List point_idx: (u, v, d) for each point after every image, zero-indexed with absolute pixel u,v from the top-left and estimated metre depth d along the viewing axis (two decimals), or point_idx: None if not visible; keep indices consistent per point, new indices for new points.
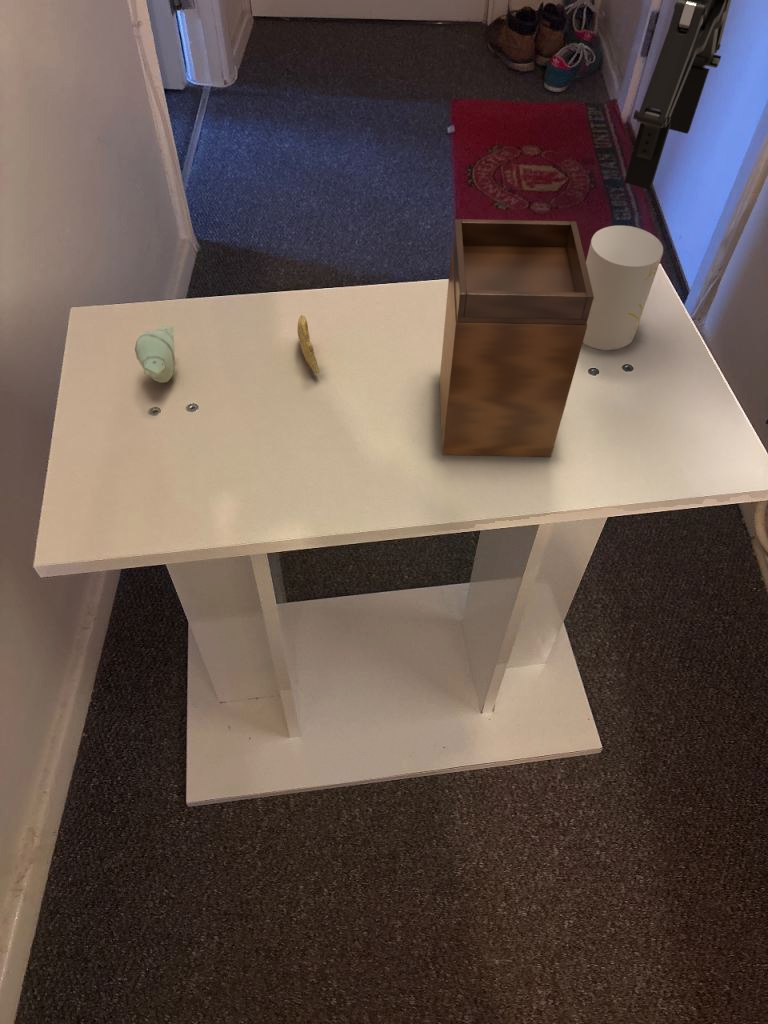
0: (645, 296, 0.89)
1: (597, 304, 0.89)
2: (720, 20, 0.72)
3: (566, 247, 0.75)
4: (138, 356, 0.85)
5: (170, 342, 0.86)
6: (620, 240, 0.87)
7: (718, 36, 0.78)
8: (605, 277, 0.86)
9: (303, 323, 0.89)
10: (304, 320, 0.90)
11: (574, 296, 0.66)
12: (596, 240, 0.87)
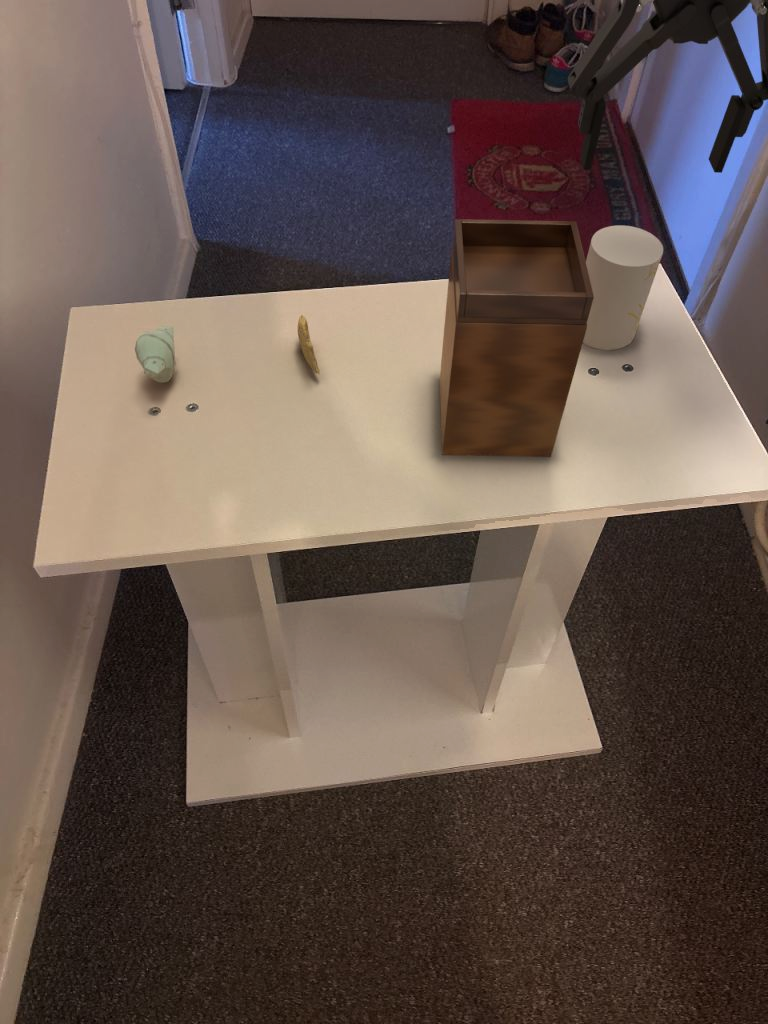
0: (645, 296, 0.89)
1: (597, 304, 0.89)
2: (720, 39, 0.68)
3: (566, 247, 0.75)
4: (138, 356, 0.85)
5: (170, 342, 0.86)
6: (620, 240, 0.87)
7: (767, 77, 0.71)
8: (605, 277, 0.86)
9: (303, 323, 0.89)
10: (304, 320, 0.90)
11: (574, 296, 0.66)
12: (596, 240, 0.87)
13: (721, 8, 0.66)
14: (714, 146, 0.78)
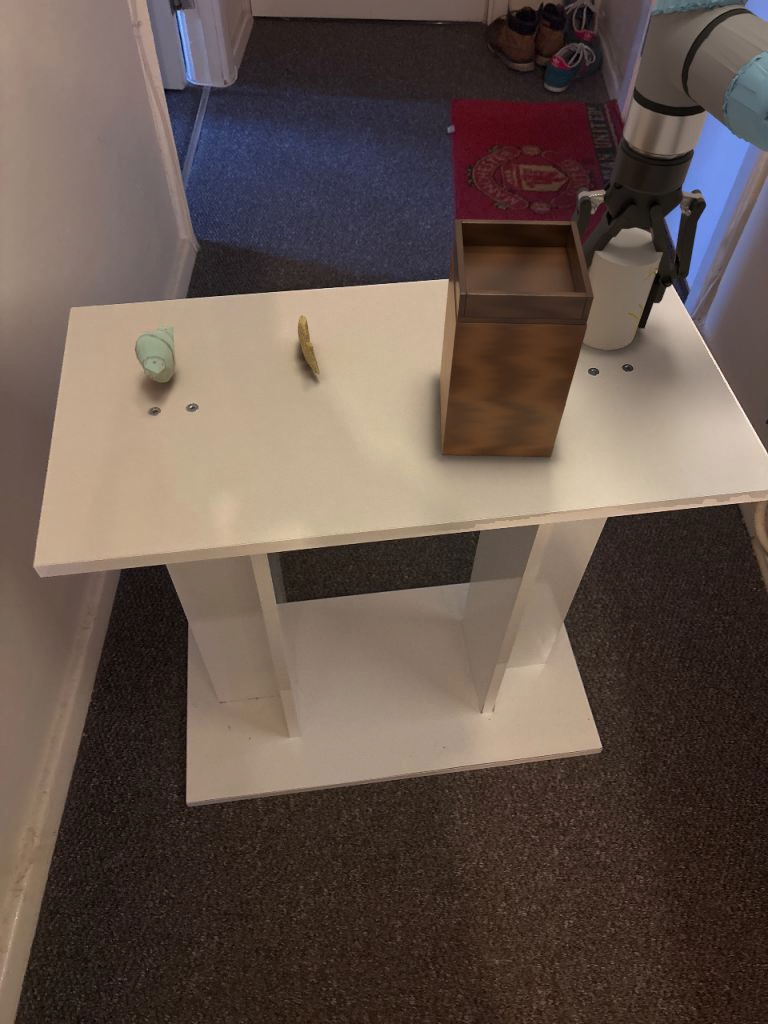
0: (645, 296, 0.89)
1: (597, 304, 0.89)
2: (652, 229, 0.83)
3: (566, 247, 0.75)
4: (138, 356, 0.85)
5: (170, 342, 0.86)
6: (620, 240, 0.87)
7: (680, 261, 0.87)
8: (605, 277, 0.86)
9: (303, 323, 0.89)
10: (304, 320, 0.90)
11: (574, 296, 0.66)
12: None
13: (658, 208, 0.81)
14: None
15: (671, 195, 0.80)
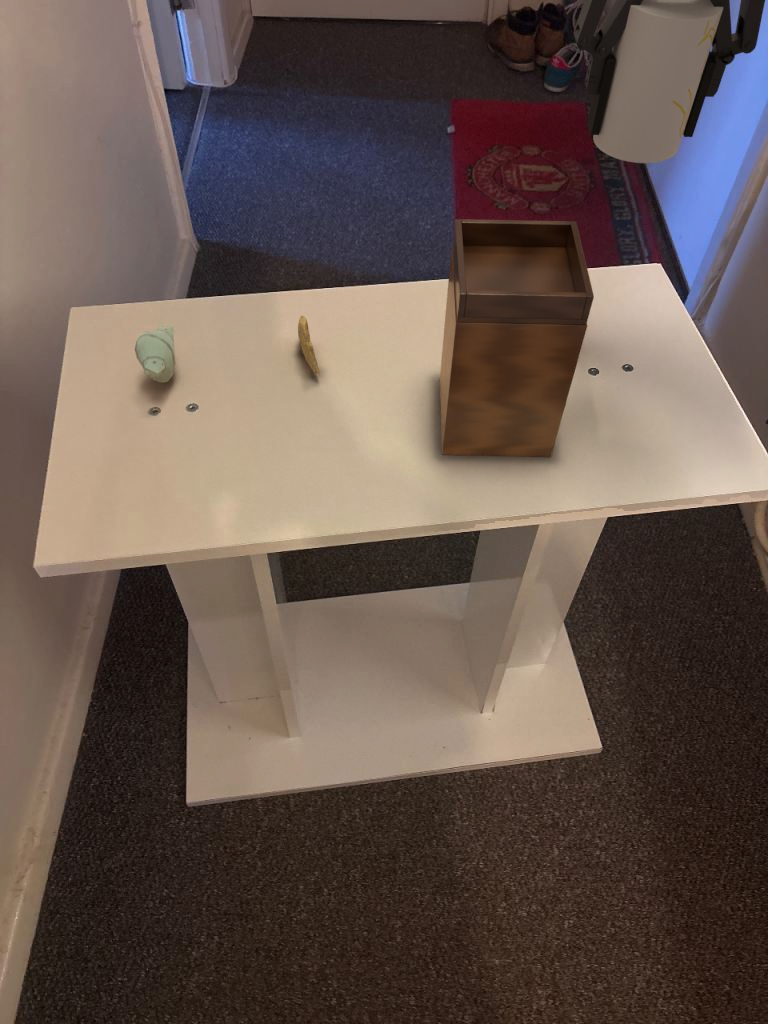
0: (697, 77, 0.66)
1: (632, 89, 0.66)
2: None
3: (566, 247, 0.75)
4: (138, 356, 0.85)
5: (170, 342, 0.86)
6: None
7: (745, 22, 0.64)
8: (644, 42, 0.63)
9: (303, 323, 0.89)
10: (304, 320, 0.90)
11: (574, 296, 0.66)
12: None
13: None
14: None
15: None
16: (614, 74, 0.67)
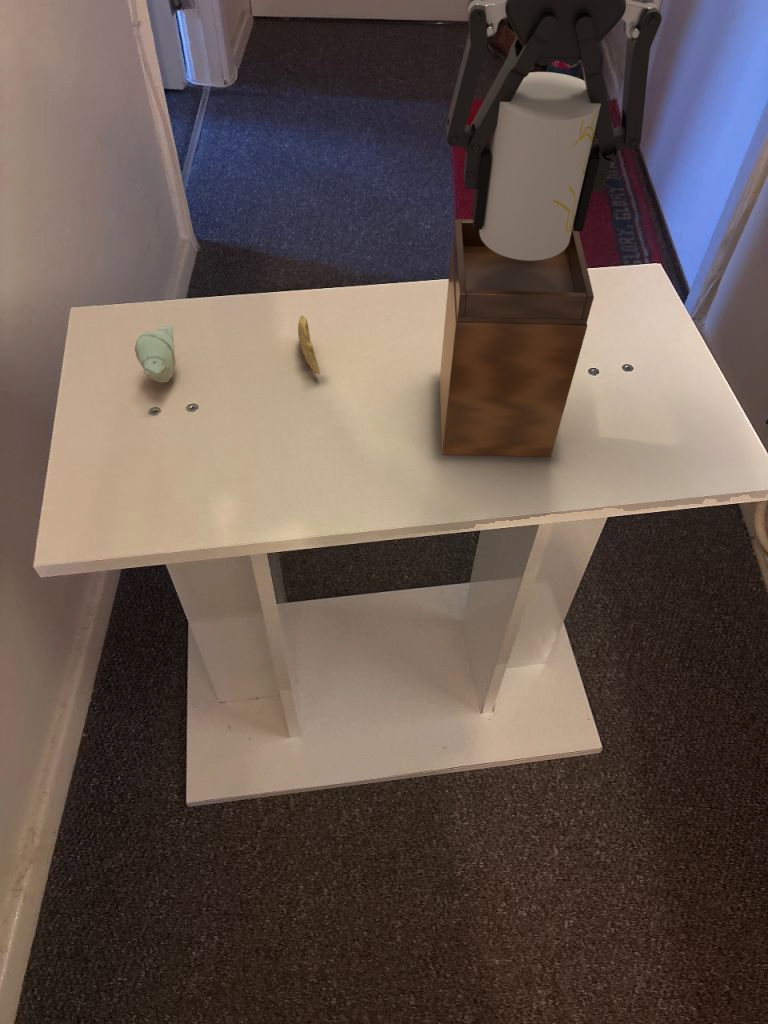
0: (578, 175, 0.61)
1: (508, 187, 0.61)
2: (582, 61, 0.55)
3: (566, 247, 0.75)
4: (138, 356, 0.85)
5: (170, 342, 0.86)
6: (539, 89, 0.59)
7: (627, 119, 0.59)
8: (516, 141, 0.58)
9: (303, 324, 0.89)
10: (305, 321, 0.90)
11: (574, 296, 0.66)
12: None
13: (588, 21, 0.53)
14: None
15: (607, 1, 0.52)
16: (491, 170, 0.62)
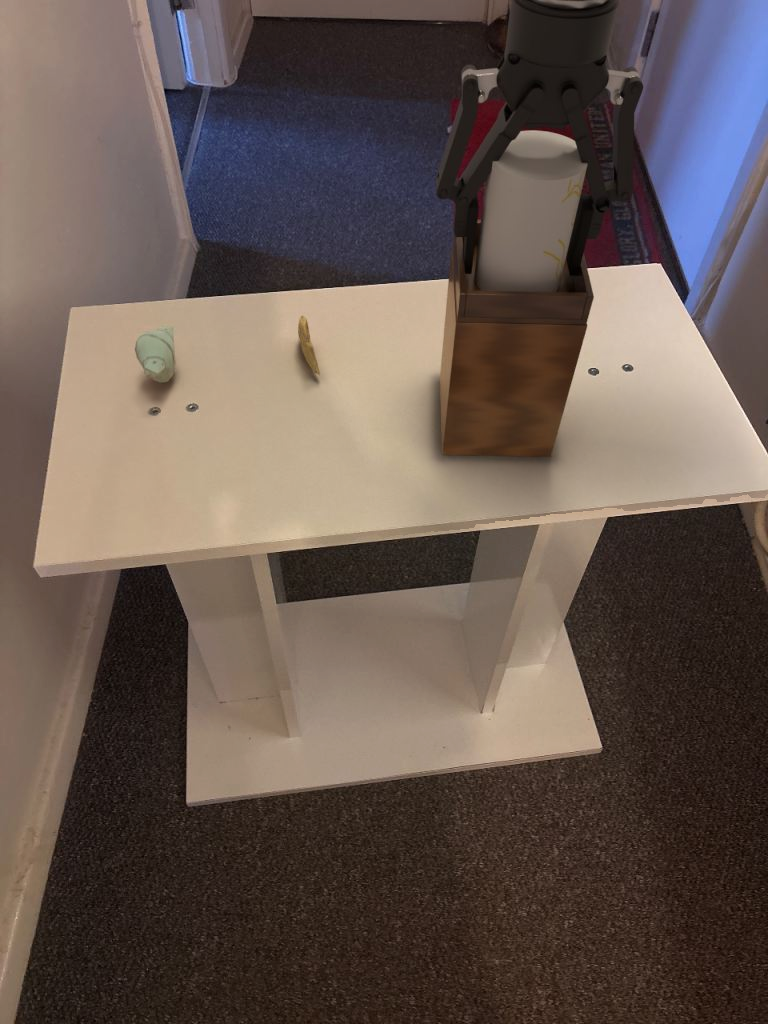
0: (566, 228, 0.64)
1: (501, 239, 0.65)
2: None
3: None
4: (138, 356, 0.85)
5: (170, 342, 0.86)
6: (530, 148, 0.63)
7: (617, 175, 0.62)
8: (508, 198, 0.62)
9: (304, 324, 0.89)
10: (305, 321, 0.90)
11: (574, 296, 0.66)
12: None
13: (573, 92, 0.56)
14: (569, 246, 0.70)
15: (591, 74, 0.56)
16: (485, 222, 0.66)
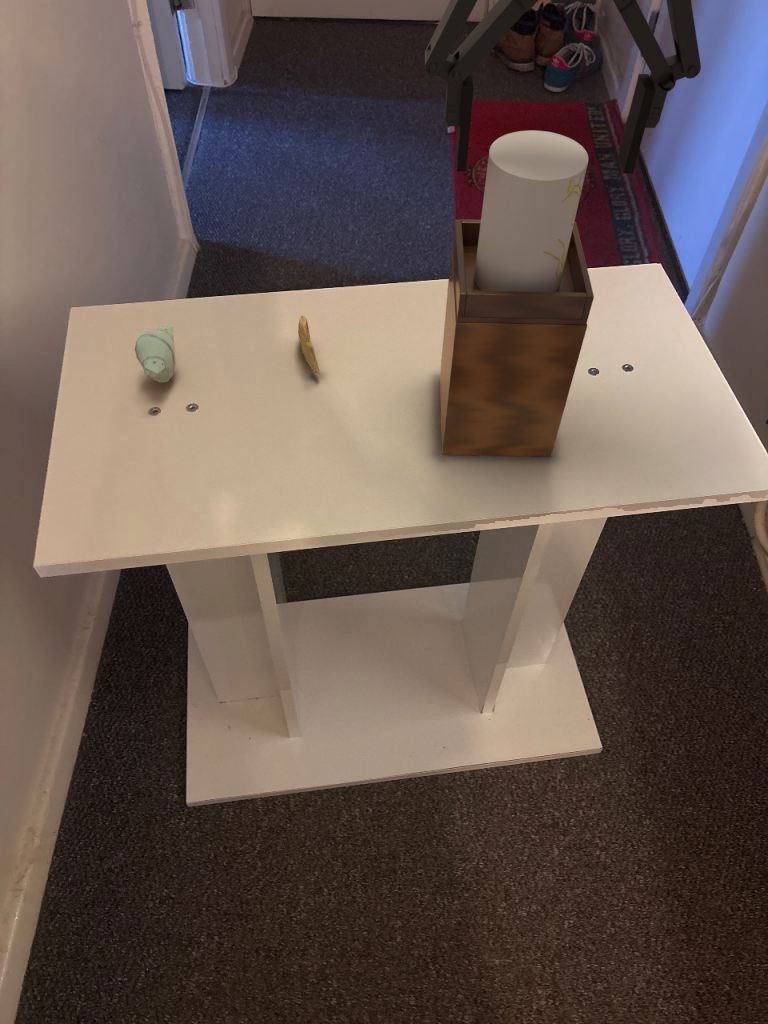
0: (566, 228, 0.64)
1: (501, 239, 0.65)
2: None
3: None
4: (138, 356, 0.85)
5: (170, 342, 0.86)
6: (530, 148, 0.63)
7: (679, 47, 0.54)
8: (508, 198, 0.62)
9: (304, 324, 0.89)
10: (305, 321, 0.90)
11: (574, 296, 0.66)
12: (496, 148, 0.63)
13: None
14: (623, 140, 0.62)
15: None
16: (485, 222, 0.66)
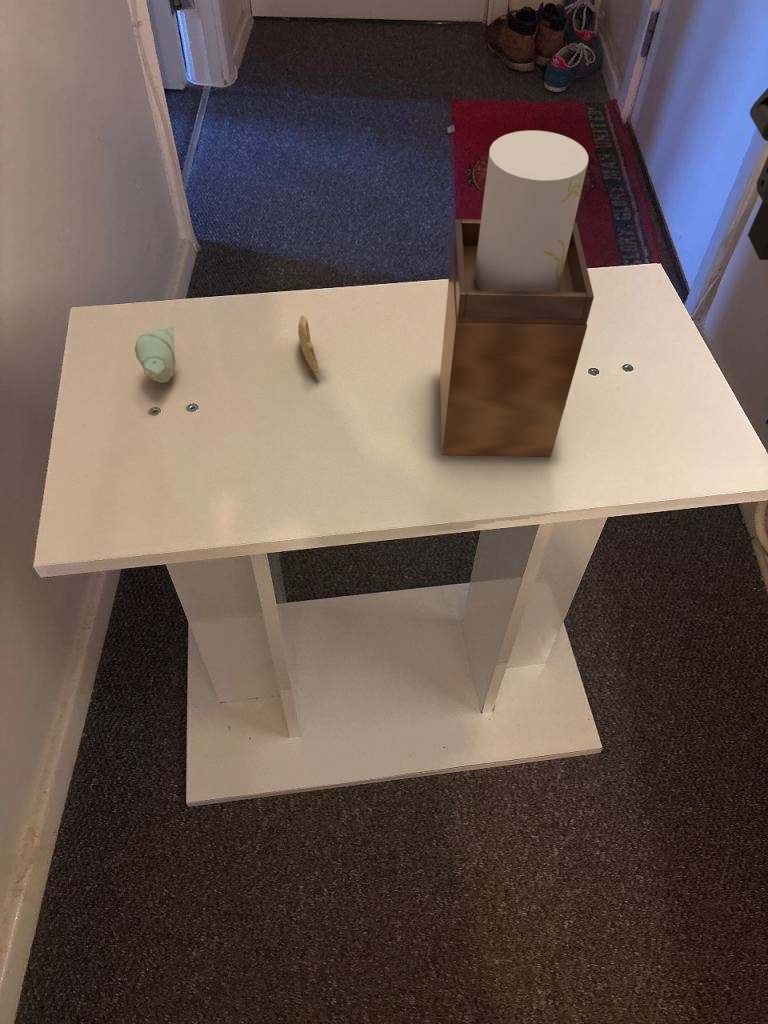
0: (566, 228, 0.64)
1: (501, 239, 0.65)
2: None
3: None
4: (138, 356, 0.85)
5: (170, 342, 0.86)
6: (530, 148, 0.63)
7: None
8: (508, 198, 0.62)
9: (304, 324, 0.89)
10: (305, 321, 0.90)
11: (574, 296, 0.66)
12: (496, 148, 0.63)
13: None
14: None
15: None
16: (485, 222, 0.66)
